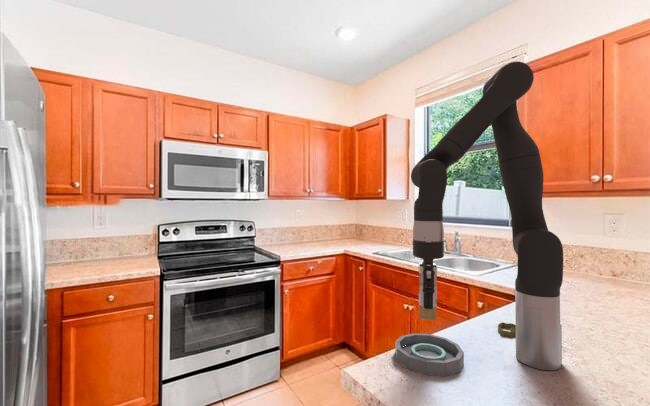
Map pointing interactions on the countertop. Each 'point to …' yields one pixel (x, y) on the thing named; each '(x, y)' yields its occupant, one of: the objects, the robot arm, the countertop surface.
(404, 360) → the grey ring dish
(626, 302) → the countertop surface
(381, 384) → the countertop surface
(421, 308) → the sprinkles bottle
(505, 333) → the cookie cutter
